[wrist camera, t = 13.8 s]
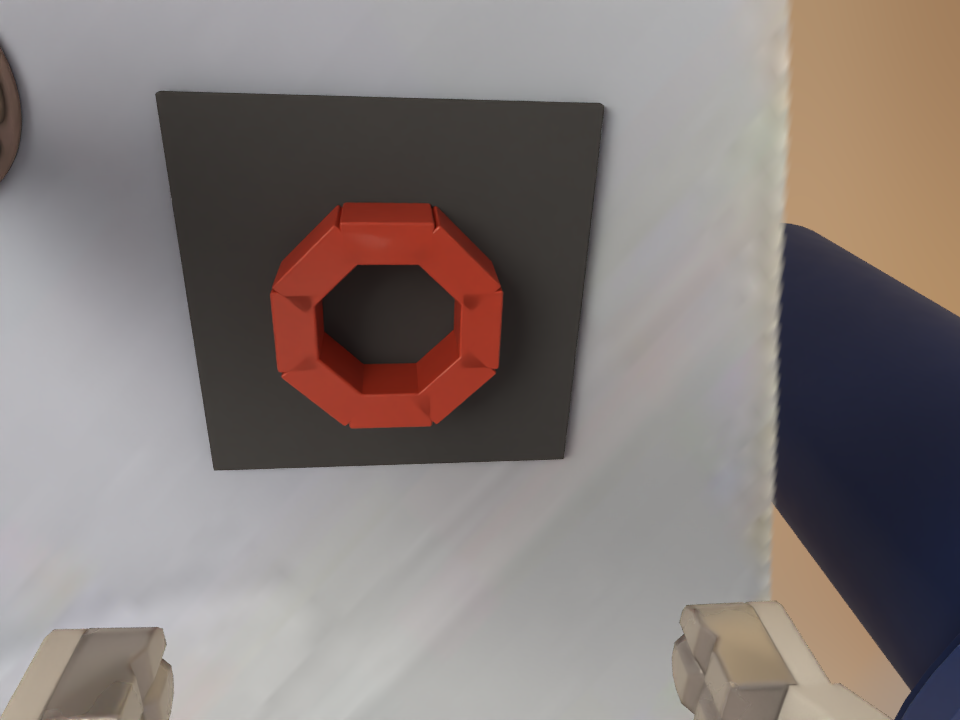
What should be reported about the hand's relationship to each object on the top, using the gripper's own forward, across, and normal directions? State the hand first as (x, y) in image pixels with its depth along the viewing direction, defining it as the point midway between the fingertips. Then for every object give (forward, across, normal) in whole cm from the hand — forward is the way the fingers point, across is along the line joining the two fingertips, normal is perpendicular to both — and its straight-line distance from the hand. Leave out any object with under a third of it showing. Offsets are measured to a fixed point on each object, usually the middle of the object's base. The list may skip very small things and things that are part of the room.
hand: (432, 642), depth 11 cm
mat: (+13, +1, 0) cm, 13 cm away
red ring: (+12, +1, 0) cm, 13 cm away
